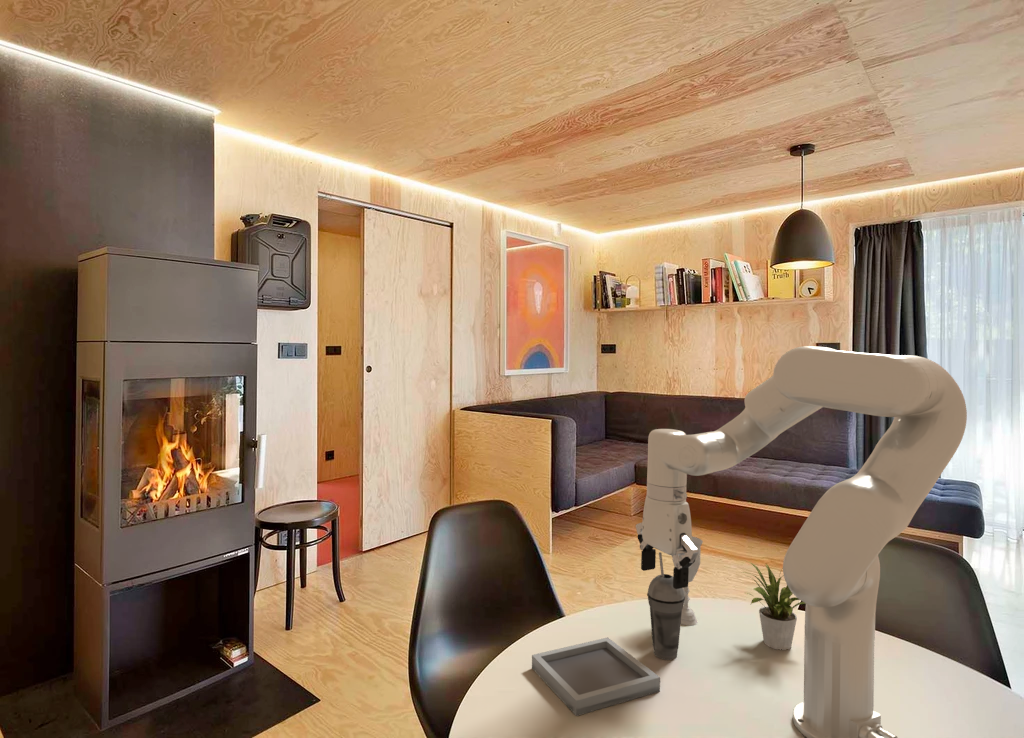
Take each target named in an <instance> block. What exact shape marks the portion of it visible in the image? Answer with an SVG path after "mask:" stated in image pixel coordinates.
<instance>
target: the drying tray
mask: <svg viewBox="0 0 1024 738" xmlns="http://www.w3.org/2000/svg"><path fill="white" fill-rule="evenodd" d="M531 669H532V670H533V671H534V672H535V673H536V674H537V676H538V677H539V678H540V679H541V680H542V681H543V682H544V683H545V684H546V685H547V686H548V687H549V689H551V690H552V692H553V693H554V694H555V695H556V696H557V697H558V698H559V699H560V701H562V702H563V703H564V704H565V706H566V707H567V708H568V709H569V710H570V711H571V712H572V713H573V714H574V716H576V717H577V716H581V715H585V714H588V713H591V712H595V711H598V710H602V709H605V708H609V707H611V706H616V705H618V704H622V703H626V702H627V701H628V702H629V701H632V700H635V699H639V698H642V697H646V696H650V695H652V694H655V693H659V692H661V677H660V676H659V675H658V674H657V673H655V672H654V671H653V670H651V669H650V668H649V667H648V666H646V665H645V664H643V663H642V662H640V661H639V660H638V659H637V658H636V657H634V656H633V655H632V654H630V653H629V652H628V651H627V650H625V649H624V648H623V647H621V646H620V645H618V644H617V642H615V641H613V640H612V639H611V638H609V637H604V638H599V639H595V640H591V641H586V642H582V643H578V644H573V645H569V646H565V647H560V648H557V649H551V650H548V651H544V652H539V653H534V654H532V655H531Z"/></svg>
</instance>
